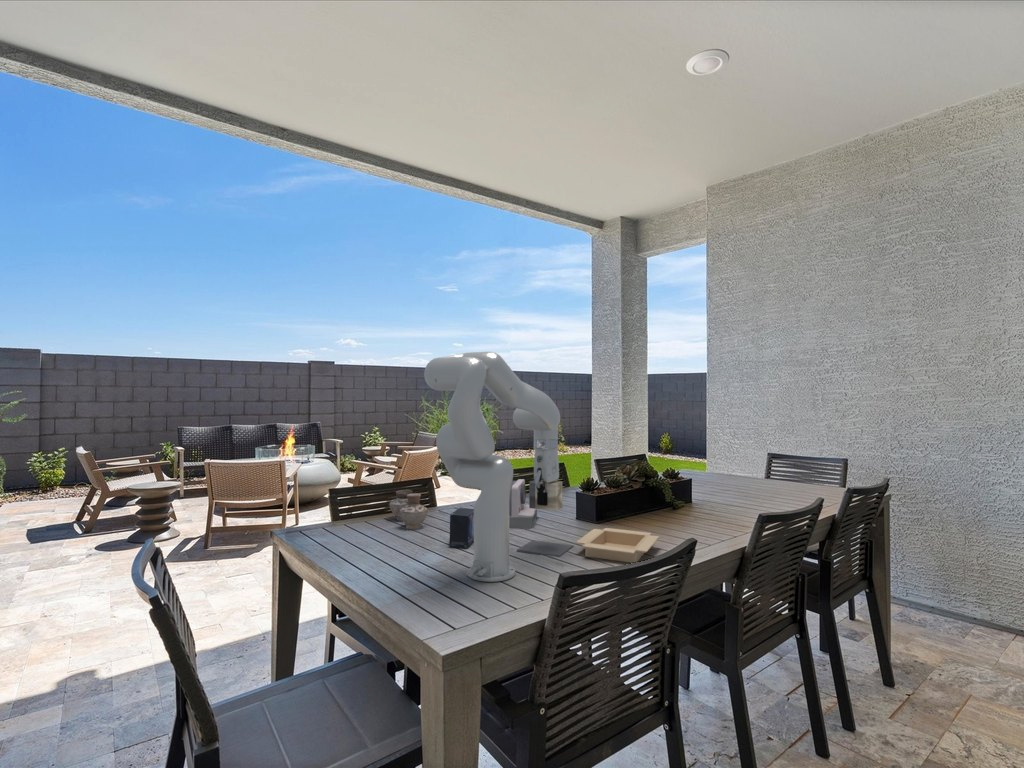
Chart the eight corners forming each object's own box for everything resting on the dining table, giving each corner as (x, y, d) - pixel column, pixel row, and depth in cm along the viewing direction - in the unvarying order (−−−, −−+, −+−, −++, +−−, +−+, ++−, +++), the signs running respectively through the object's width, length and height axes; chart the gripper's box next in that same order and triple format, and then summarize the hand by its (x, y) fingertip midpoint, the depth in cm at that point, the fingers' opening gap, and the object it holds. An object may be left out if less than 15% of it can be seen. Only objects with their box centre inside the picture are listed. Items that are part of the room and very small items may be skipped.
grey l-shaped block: (529, 531, 189) (529, 488, 190) (475, 526, 196) (475, 485, 196) (544, 518, 209) (544, 479, 210) (494, 514, 216) (495, 477, 216)
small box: (468, 549, 166) (468, 515, 167) (448, 547, 168) (448, 514, 168) (477, 540, 177) (477, 508, 177) (458, 539, 178) (458, 507, 178)
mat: (559, 557, 158) (559, 555, 158) (516, 551, 164) (516, 549, 164) (573, 547, 168) (573, 545, 168) (532, 541, 175) (532, 540, 175)
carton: (644, 568, 148) (644, 554, 148) (572, 558, 157) (572, 544, 157) (660, 546, 169) (660, 534, 169) (596, 538, 179) (596, 526, 179)
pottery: (401, 532, 186) (402, 498, 187) (386, 517, 209) (386, 486, 209) (433, 529, 191) (433, 495, 192) (414, 515, 214) (415, 485, 214)
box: (556, 510, 162) (556, 484, 163) (529, 508, 166) (529, 482, 166) (562, 507, 167) (562, 481, 167) (535, 505, 171) (535, 479, 171)
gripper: (546, 447, 158) (546, 510, 157) (566, 442, 173) (566, 499, 173) (523, 446, 161) (523, 507, 161) (545, 442, 176) (545, 497, 176)
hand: (545, 502), depth 167 cm, fingers closed on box, 5 cm apart
